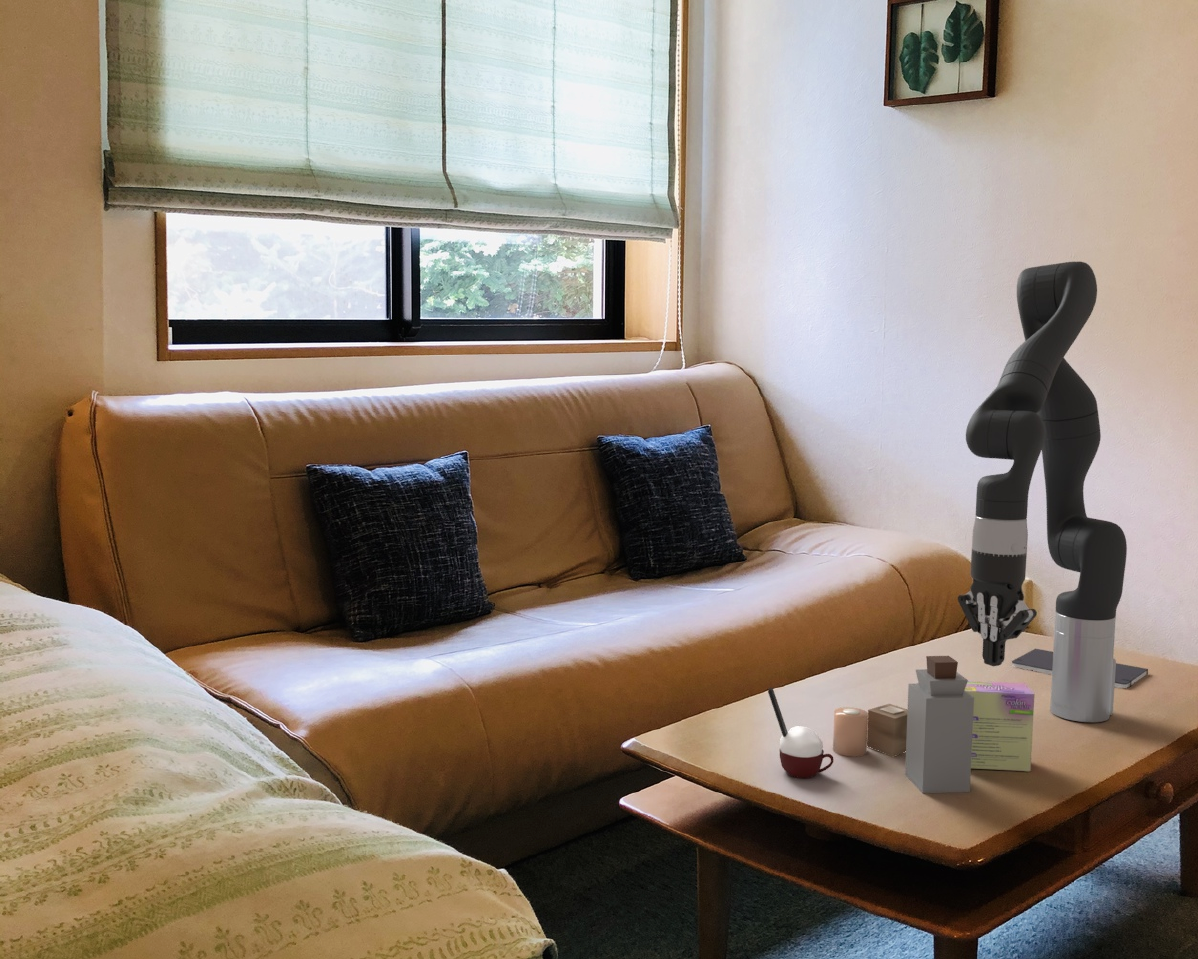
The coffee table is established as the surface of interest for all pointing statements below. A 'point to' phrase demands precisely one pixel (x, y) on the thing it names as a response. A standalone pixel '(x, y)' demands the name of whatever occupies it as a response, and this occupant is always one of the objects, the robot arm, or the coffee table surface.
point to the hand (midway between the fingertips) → (992, 664)
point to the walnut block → (887, 729)
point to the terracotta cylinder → (850, 731)
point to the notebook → (1044, 664)
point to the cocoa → (799, 747)
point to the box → (1001, 725)
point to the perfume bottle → (939, 728)
